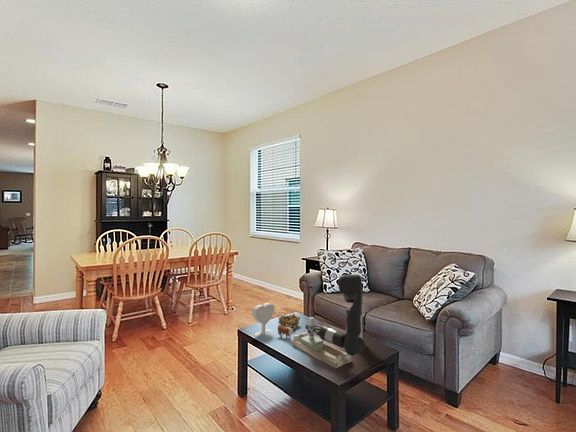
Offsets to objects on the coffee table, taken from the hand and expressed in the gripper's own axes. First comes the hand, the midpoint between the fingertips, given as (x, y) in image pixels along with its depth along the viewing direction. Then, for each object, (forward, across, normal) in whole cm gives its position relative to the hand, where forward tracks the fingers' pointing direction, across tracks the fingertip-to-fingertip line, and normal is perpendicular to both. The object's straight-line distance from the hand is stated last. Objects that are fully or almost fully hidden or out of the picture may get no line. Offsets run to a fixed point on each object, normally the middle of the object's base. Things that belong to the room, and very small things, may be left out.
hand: (308, 325), depth 182 cm
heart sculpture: (+35, +7, +13) cm, 38 cm away
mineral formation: (+32, -14, +13) cm, 37 cm away
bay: (-10, 0, +13) cm, 16 cm away
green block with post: (-3, 0, +12) cm, 12 cm away
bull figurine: (+18, +2, +13) cm, 23 cm away
